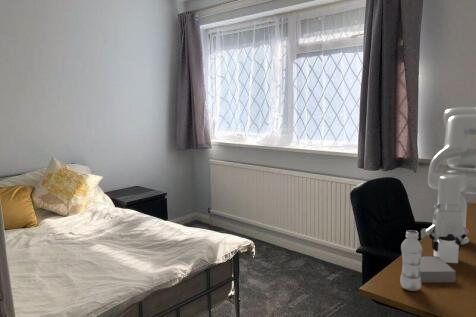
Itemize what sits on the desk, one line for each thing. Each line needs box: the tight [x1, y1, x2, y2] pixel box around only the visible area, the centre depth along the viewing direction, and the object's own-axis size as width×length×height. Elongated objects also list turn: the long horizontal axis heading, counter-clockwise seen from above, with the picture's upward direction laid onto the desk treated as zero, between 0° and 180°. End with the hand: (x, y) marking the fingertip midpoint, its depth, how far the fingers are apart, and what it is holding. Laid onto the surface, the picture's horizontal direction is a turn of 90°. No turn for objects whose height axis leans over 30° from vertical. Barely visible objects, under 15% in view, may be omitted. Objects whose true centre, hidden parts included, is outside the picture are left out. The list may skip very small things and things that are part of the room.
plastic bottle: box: [399, 229, 423, 292], centre depth 130 cm, size 6×7×20 cm
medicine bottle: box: [433, 234, 460, 264], centre depth 153 cm, size 7×7×12 cm
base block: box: [420, 256, 457, 283], centre depth 141 cm, size 13×12×4 cm
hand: (446, 249), depth 153 cm, fingers closed on medicine bottle, 7 cm apart
